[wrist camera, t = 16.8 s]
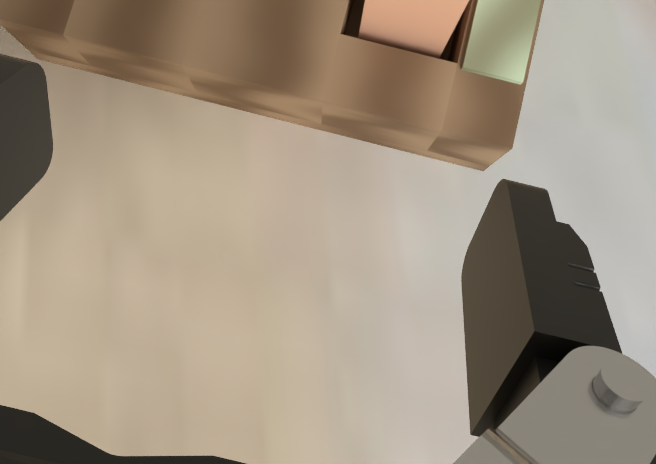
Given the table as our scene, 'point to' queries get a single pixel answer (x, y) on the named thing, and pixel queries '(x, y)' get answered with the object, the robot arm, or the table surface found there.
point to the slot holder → (305, 65)
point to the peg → (411, 24)
